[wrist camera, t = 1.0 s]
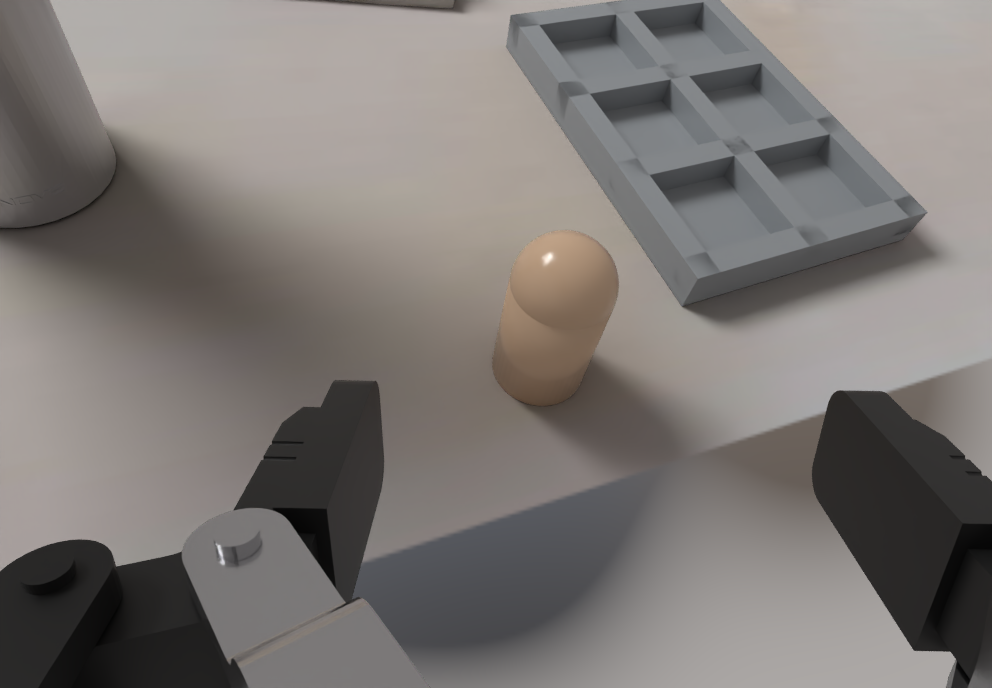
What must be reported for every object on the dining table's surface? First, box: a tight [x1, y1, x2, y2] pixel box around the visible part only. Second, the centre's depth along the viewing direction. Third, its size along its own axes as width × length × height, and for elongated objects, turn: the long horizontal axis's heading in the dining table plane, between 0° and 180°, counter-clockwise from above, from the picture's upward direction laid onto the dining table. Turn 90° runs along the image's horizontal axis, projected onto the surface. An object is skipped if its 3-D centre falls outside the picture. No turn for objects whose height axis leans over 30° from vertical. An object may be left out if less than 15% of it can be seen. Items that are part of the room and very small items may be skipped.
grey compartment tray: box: [506, 0, 927, 306], centre depth 49 cm, size 26×18×3 cm
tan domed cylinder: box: [492, 230, 619, 406], centre depth 33 cm, size 5×5×10 cm
